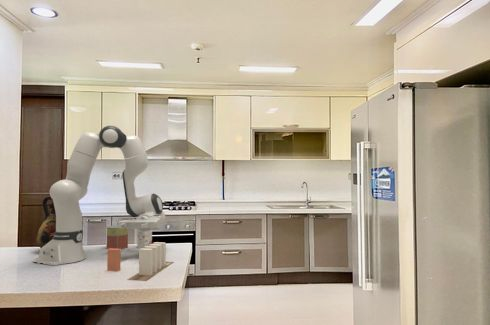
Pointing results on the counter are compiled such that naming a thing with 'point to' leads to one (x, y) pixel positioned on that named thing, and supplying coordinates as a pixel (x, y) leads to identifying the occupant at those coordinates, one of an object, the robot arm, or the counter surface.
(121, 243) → the canned food
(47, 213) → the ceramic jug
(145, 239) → the ink cartridge box
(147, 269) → the ivory tile
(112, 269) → the rust tile
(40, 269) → the counter surface
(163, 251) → the ivory tile
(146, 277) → the walnut board
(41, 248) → the robot arm
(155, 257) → the ivory tile
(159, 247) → the ivory tile
